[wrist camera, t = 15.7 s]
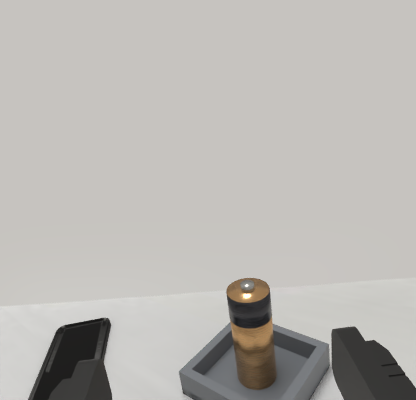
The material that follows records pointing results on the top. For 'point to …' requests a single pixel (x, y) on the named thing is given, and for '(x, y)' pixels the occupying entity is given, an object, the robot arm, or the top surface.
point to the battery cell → (252, 332)
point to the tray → (285, 365)
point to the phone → (70, 353)
